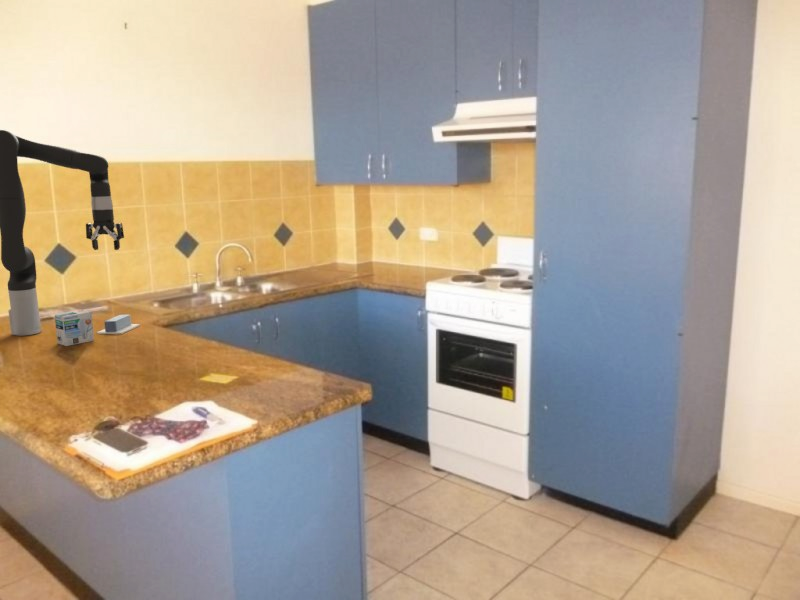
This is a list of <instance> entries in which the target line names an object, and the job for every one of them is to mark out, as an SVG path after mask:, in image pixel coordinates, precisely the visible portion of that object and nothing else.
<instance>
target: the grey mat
mask: <svg viewBox="0 0 800 600" xmlns="http://www.w3.org/2000/svg"><path fill="white" fill-rule="evenodd" d="M140 326H141V324H140V323H135V324H134V323H131V325H129V326H127V327H125V328H123V329H121V330H118V331H116V332H105V328H103V329H101V330H99V331H97V332H96V335H123V334H125V333H128V332H130V331H131V330H134V329H136V328H139V327H140Z"/></svg>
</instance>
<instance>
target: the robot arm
mask: <svg viewBox="0 0 800 600" xmlns="http://www.w3.org/2000/svg"><path fill="white" fill-rule="evenodd" d="M18 158H26V159H32V160H35V161H36V160H37V161H41V162H44V163H47V164H51V165H53V166H54V165H55V166H58V167H63V168H68V169H73V170H80V171H84V172H88V174H89V181H90V187H89V188H90V199H91V201H90V202H91V203H90V204H91V213H92V221H93V223H91V222H90V223H89V222H87V223H85V236H86V240H90V241H91V246H92V249H93V250H95V251H96V250H97V251H98V250H99V241H98V240H99V239H98V238H99V236H101V235H109V236H110V237H111V238H112V239H113V249H114V251H119V250H120V248H121V243H120V240H122V239H124V238H125V235H124V227H123V223H121V222H118V223H115V222H114V220H115V216H114V206H113V200H112V193H111V191H112V190H111V186H110V182H109V163H108V162H109V161H107V159H106V158H105V157H104V156H100V155H97V154H93V153H87V152H82V151H77V150H75V149H71V148H68V147H67V148H66V147H63V146H62V147H61V146H57V145H52V144H45V143H39V142H35V141H32V140H29V139H25V138H23V137H20V136H17V135H15V134H14V133H12V132H10V131H8V130H6V129H0V241H1V242H0V261H1V264H2V266H3V267H4V269H5V270H7V271H8V272H9V278H8V281H7V289H8V298H9V299H8V300H9V306H10V309H9V310H8V318H9V326H10V334H11V335H13V336H17V337H19V336H20V337H21V336H22V337H23V336H31V335H35V334H39V333H41V332H42V327H41V317H40V316H41V315H40V308H39V302H38V294H37V293H38V292H37V286H36V283H37V268H36V267H37V265H36V258H35V254H34V253H33V251H32V250H31V248H29V247H27V246H25V242H24V226H25V221H26V216H27V215H26V214H27V213H26V211H27V210H26V209H27V208H26V199H25V198H26V197H25V192H24V188H23V183H22V180H21V177H20V173H19V168H18V167H19V166H18ZM93 229H94V231H93ZM115 229H116V230H115Z"/></svg>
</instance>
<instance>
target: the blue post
mask: <svg viewBox="0 0 800 600" xmlns="http://www.w3.org/2000/svg"><path fill="white" fill-rule="evenodd" d="M131 320H132V318H131V314H119V315H117V316H115V317H112V318H109V319H107V320H105V321H104V329H105V332H116V331H118V330H121V329H123V328H125V327H127V326H129V325H131V324H132V321H131Z"/></svg>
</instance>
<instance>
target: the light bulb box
mask: <svg viewBox="0 0 800 600" xmlns="http://www.w3.org/2000/svg"><path fill="white" fill-rule="evenodd" d="M54 320H55V321H54V323H55V330H56V341H57V344H58V345H61V346H65V347H69V346H75V345H78V344H84V343H87V342H88V343H89V342H93V341H95V334H94V326H93V316H92V311H88V310H84V309H80V310H76V311H75V310H73V311H68V312H63V313H57V314H56V313H55V314H54Z"/></svg>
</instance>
